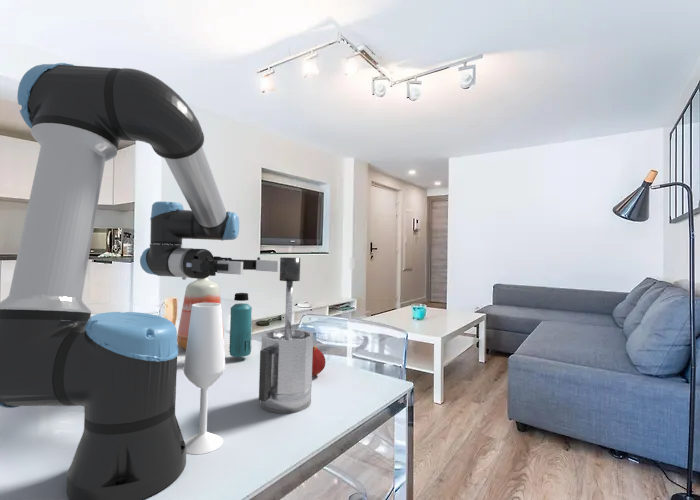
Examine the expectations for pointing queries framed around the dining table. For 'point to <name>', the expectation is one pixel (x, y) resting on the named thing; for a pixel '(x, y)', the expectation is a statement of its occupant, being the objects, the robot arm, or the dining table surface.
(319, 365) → the onion
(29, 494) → the dining table surface
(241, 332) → the beverage bottle
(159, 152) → the robot arm
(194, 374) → the champagne flute
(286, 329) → the plunger
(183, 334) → the vase
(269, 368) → the press pot
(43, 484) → the dining table surface
